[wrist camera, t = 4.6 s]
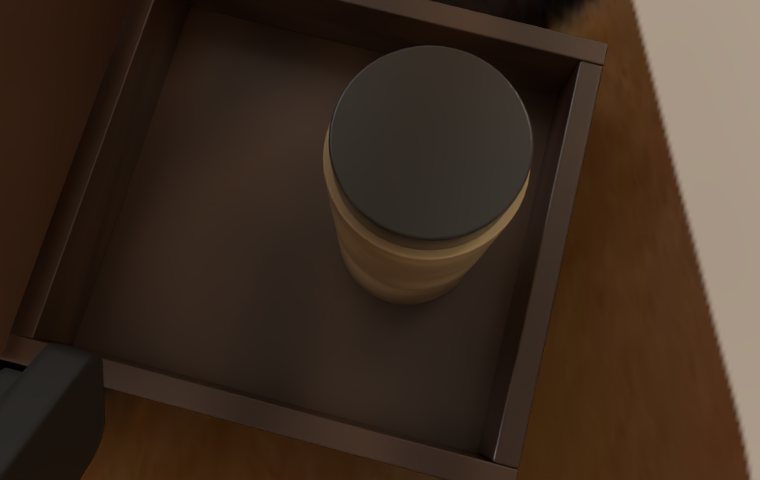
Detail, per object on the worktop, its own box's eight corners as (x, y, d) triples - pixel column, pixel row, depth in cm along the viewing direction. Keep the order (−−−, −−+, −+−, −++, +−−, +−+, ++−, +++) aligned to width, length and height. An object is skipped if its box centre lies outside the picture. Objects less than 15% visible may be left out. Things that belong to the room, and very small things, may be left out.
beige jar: (489, 189, 25) (563, 65, 16) (458, 320, 24) (517, 274, 15) (359, 156, 26) (352, 13, 16) (323, 285, 25) (292, 216, 15)
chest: (576, 90, 27) (608, 43, 23) (490, 481, 24) (512, 497, 20) (182, -7, 28) (153, -68, 24) (53, 363, 25) (-3, 358, 21)
